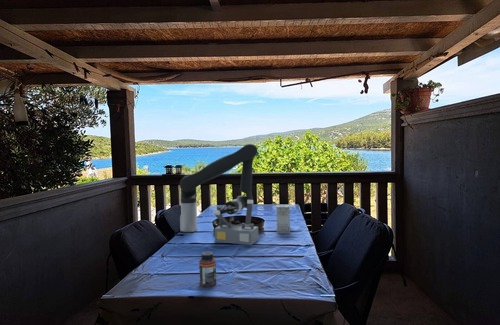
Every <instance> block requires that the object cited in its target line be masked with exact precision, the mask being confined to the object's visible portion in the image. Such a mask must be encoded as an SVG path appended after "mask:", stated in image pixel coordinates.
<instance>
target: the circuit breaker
mask: <svg viewBox="0 0 500 325" xmlns="http://www.w3.org/2000/svg"><path fill="white" fill-rule="evenodd" d="M290 208H291V206H290V204H276V233H277V234H290V233H291V218H290V217H291V212H290Z"/></svg>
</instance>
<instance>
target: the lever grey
mask: <svg viewBox="0 0 500 325" xmlns="http://www.w3.org/2000/svg"><path fill="white" fill-rule="evenodd" d="M253 205H254V199H253V200H247V208H246V213H245V222H244V223H245V224H244V227H251V224H252V213H253Z"/></svg>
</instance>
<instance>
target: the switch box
mask: <svg viewBox="0 0 500 325" xmlns="http://www.w3.org/2000/svg"><path fill="white" fill-rule="evenodd" d="M227 223H228V226H226V225H222V223H221V222H220V221H219V225H218V226H216V227H214V242H216V243H217V242H219V243H228V244H230V243H231V244H235V245H237V244H238V245H246V246H253V244H255V243H256V242H257V241H259V226H254V224H255V223H251V227H244V224H245V222H242V223H241V225H239V224H232V221H229V222H227Z"/></svg>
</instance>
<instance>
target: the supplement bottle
mask: <svg viewBox="0 0 500 325" xmlns="http://www.w3.org/2000/svg"><path fill="white" fill-rule="evenodd" d="M216 262H217V260H216V258H215V257H214V254H213V252H212V251H203V252H202V253H201V258H200V259H199V261H198V264H199V266H198V268H199V284H200V286H202V287H204V286H210V287H213V286H215V285H216V284H217V263H216Z"/></svg>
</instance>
